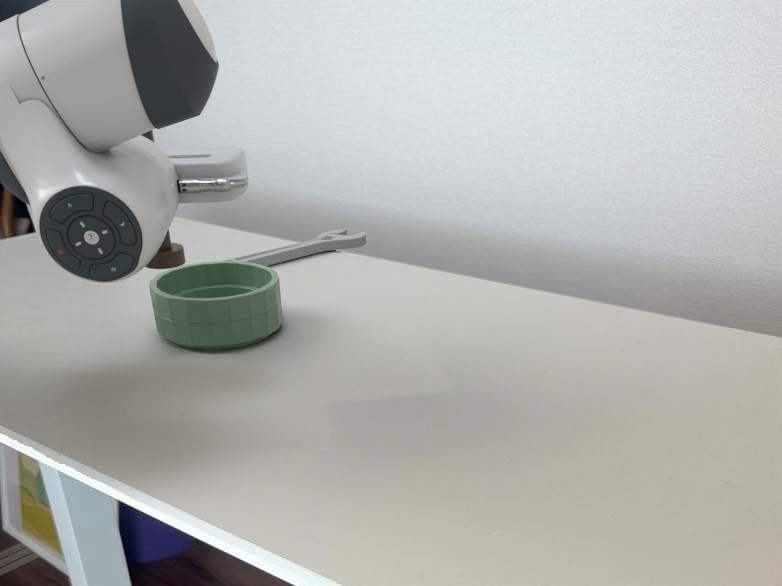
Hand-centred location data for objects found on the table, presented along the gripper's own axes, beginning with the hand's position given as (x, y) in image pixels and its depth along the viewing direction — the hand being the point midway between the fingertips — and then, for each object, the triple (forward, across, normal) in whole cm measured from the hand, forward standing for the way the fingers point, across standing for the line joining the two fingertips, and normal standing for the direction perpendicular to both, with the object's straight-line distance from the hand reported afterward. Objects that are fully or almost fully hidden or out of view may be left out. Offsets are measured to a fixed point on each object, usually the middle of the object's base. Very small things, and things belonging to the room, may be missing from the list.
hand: (148, 160), depth 82 cm
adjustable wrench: (+34, -13, +20) cm, 42 cm away
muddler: (-1, 0, +10) cm, 10 cm away
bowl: (+4, -4, +20) cm, 20 cm away
